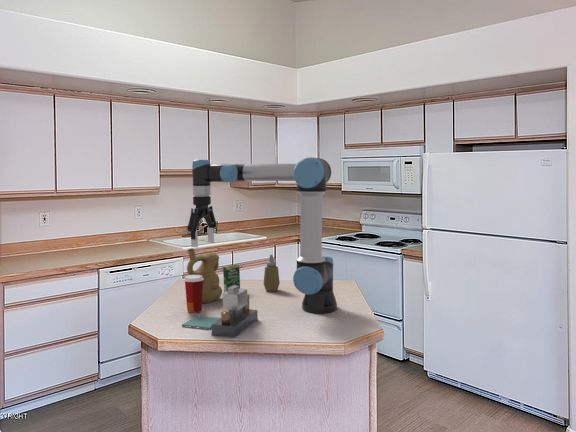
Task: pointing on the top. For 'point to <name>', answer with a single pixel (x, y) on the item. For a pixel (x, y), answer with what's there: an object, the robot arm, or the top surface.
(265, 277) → the squeeze bottle
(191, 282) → the coffee cup
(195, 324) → the rubber mat
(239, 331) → the hand plane
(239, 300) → the lever cap
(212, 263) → the ceramic vessel
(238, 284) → the coffee box
